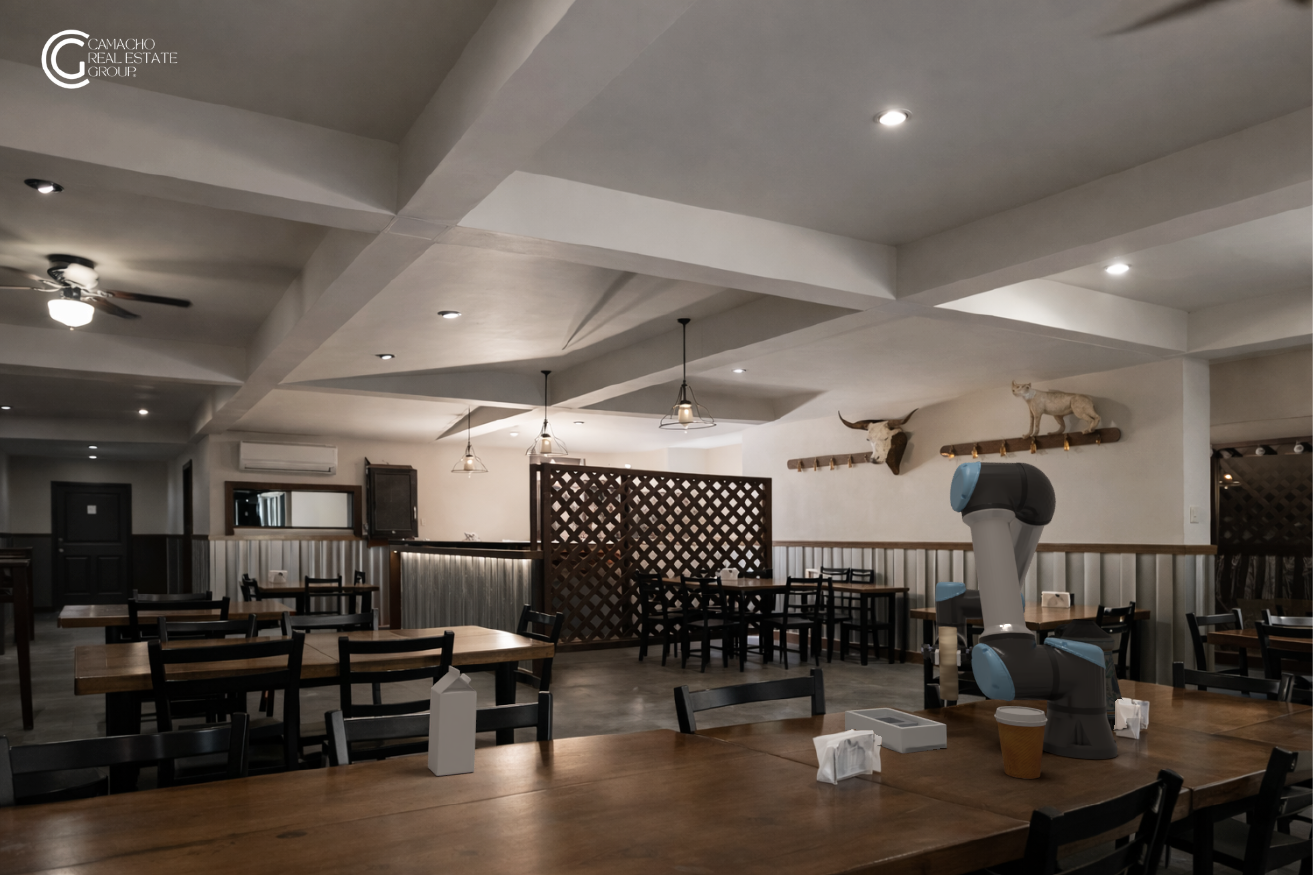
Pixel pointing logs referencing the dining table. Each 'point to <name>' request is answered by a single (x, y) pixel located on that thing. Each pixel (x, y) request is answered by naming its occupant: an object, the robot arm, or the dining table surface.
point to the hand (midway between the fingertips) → (947, 659)
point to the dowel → (948, 663)
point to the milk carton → (452, 725)
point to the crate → (899, 729)
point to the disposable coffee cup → (1021, 740)
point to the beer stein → (1096, 636)
